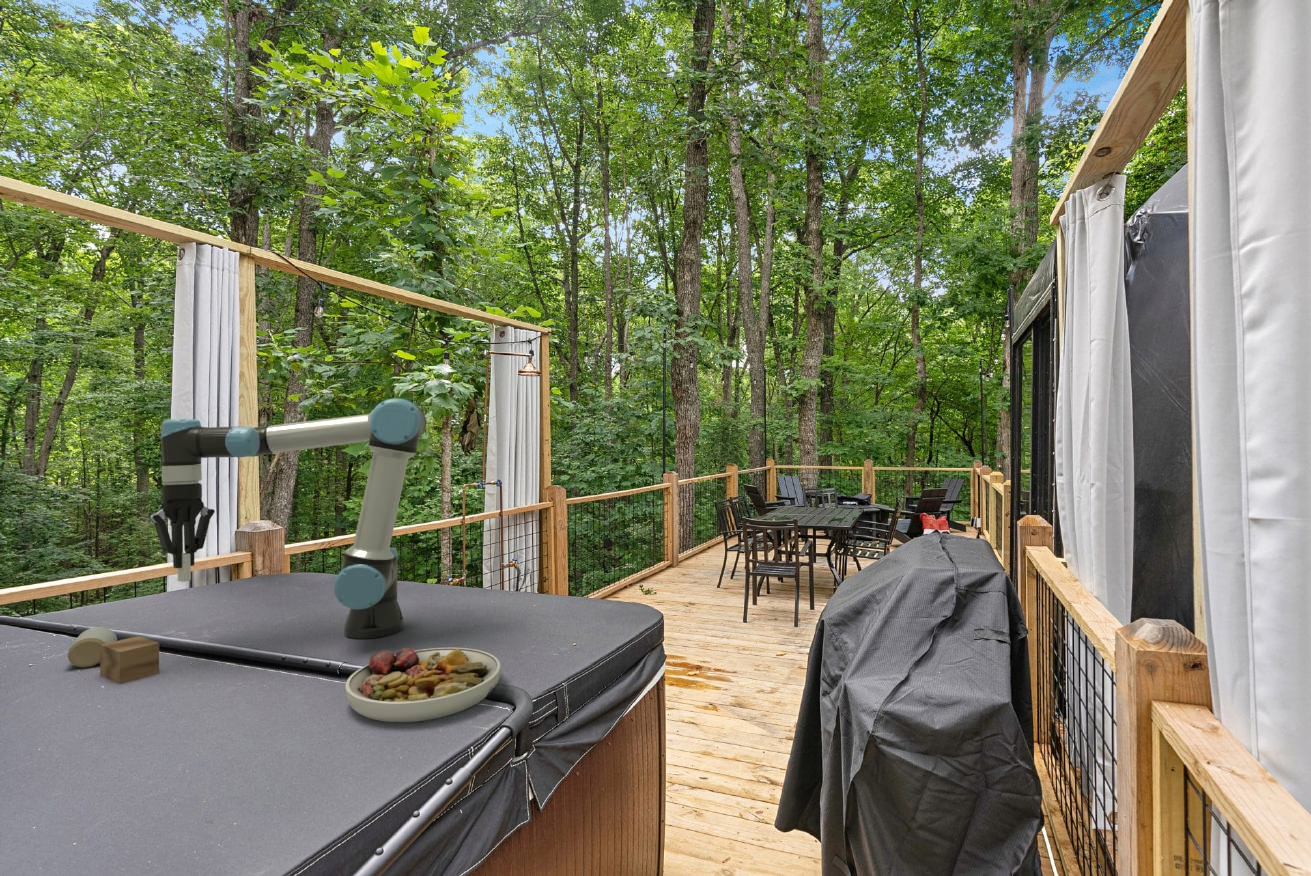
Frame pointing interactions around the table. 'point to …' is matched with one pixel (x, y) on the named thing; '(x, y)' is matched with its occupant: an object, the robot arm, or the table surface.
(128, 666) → the walnut block
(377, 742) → the table surface
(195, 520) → the robot arm
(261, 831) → the table surface
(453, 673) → the bowl
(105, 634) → the ceramic mug
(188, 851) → the table surface
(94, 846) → the table surface
